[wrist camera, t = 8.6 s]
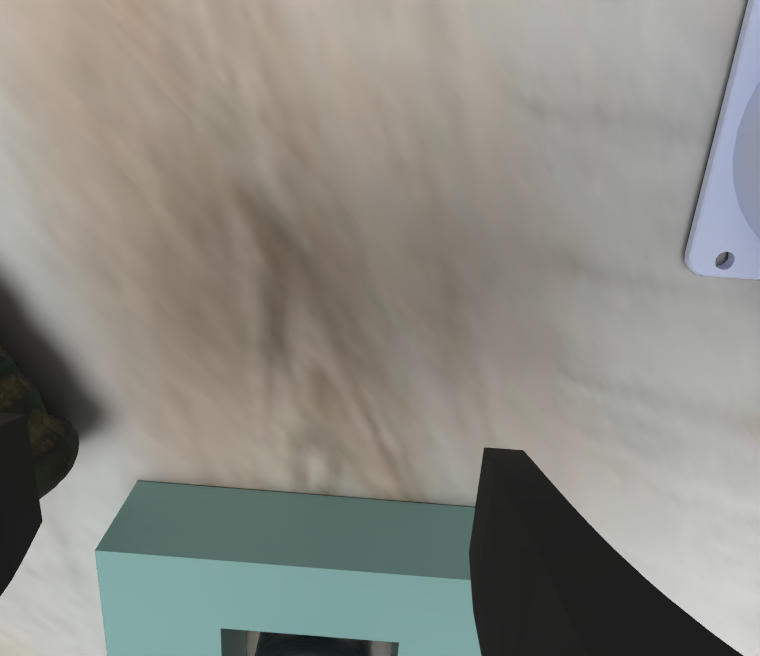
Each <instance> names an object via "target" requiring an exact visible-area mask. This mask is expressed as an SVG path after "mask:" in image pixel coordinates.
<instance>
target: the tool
mask: <svg viewBox="0 0 760 656" xmlns="http://www.w3.org/2000/svg"><path fill="white" fill-rule="evenodd" d="M0 413H11V414H25V415H26V416H27V423H28V429H29V436H30V442H31V449H32V456H33V462H34V469H35V476H36V482H37V489H38V496H39V499H40V498H42V497H43V496H44V495H46V494H47V493H48V492H50V491H51V490H52V489H53V488H55V487H56V486H57V484H58V483H59V482H60V481H61V480H62V479H64V478H65V477H66V475H67V474H68V473H69V471H70V470H71V469H72V467H73V465H74V462H75V460H76V457H77V455H78V447H79V438H78V434H77V432H76V430H75V429H74V428H73V426H72V425H71V424H70V423H69V422H68V421H66V420H64V419H61V418H57V417H54V416H52V415H50V414H48V413H47V412H46V409H45V406H44V404H43V401H42V399H41V396H40V393H39V391H38V390H37V389H36V387H35V386H34V385H33V384H32V382H31V381H29V380H28V379H27V378H26V377H24V376H23V375H22V374H21V372H20V371H19V369H18V368H17V366H16V365H15V363H14V362H13V360H12V358H11V357H10V355H9V354H8V352H7V351H6V349H5V348H4V347H3V346H2V345H1V344H0Z"/></svg>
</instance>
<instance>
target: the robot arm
mask: <svg viewBox="0 0 760 656" xmlns="http://www.w3.org/2000/svg"><path fill="white" fill-rule="evenodd" d="M722 252H728V259H727V261H726V262H725V263H723V264H722V265H718V266H716V265H715V260H716V258H717V256H718V255H719V254H721V253H722ZM684 261H685V264H686V266H687V267H688V268H689V269H690V270H691V271H692V272H694V273H695V274H697V275H701V276H712V277H725V278H738V279H751V280H760V0H748V4H747V8H746V12H745V16H744V20H743V24H742V28H741V32H740V36H739V40H738V44H737V48H736V52H735V56H734V60H733V64H732V68H731V72H730V76H729V80H728V84H727V88H726V92H725V96H724V100H723V104H722V108H721V112H720V116H719V120H718V124H717V128H716V132H715V136H714V140H713V144H712V148H711V152H710V156H709V160H708V164H707V168H706V172H705V176H704V180H703V184H702V188H701V192H700V196H699V200H698V204H697V207H696V211H695V215H694V219H693V223H692V227H691V231H690V235H689V239H688V243H687V247H686V251H685V259H684ZM41 523H42V515H41V509H40V502H39V496H38V489H37V482H36V476H35V469H34V462H33V456H32V449H31V442H30V436H29V429H28V423H27V416H26V415H25V414H11V413H0V596H1V595H2V593H3V592H4V590H5V589H6V587H7V586H8V584H9V583H10V581H11V580H12V578H13V577H14V575H15V573H16V571H17V569H18V568H19V566H20V564H21V562H22V560H23V558H24V557H25V555H26V553H27V551H28V549H29V547H30V545H31V543H32V541H33V539H34V537H35V535H36V533H37V531H38V529H39V527H40V525H41ZM469 562H470V578H471V591H472V604H473V614H474V619H475V625H476V630H477V635H478V640H479V646H480V651H481V656H743V655H741V654H740V653H739V652H737V651H736V650H734V649H733V648H732V647H730V646H729V645H727V644H726V643H725V642H723V641H722V640H721V639H719V638H718V637H717V636H715V635H714V634H713V633H711V632H710V631H709V630H707V629H706V628H705V627H704V626H702V625H701V624H700V623H699V622H697V621H696V620H695V619H694V618H692V617H691V616H690V615H689V614H687V613H686V612H685V611H684V610H682V609H681V608H680V607H679V606H677V605H676V604H675V603H674V602H672V601H671V600H670V599H669V598H667V597H666V596H665V595H664V594H663V593H662V592H660V591H659V590H658V589H657V588H656V587H655V586H653V585H652V584H651V583H650V582H649V581H648V580H647V579H646V578H644V577H643V576H642V575H641V574H640V573H639V572H638V571H637V570H636V569H635V568H634V567H633V566H632V565H631V564H629V563H628V562H627V561H626V560H625V559H624V558H623V557H622V556H621V555H620V554H619V553H618V552H617V551H616V550H614V549H613V548H612V547H611V546H610V545H609V544H608V543H607V542H606V541H605V540H604V539H603V538H602V537H601V536H600V535H599V534H598V533H597V531H596V530H595V529H594V528H593V527H592V526H591V525H590V524H589V523H588V522H587V521H586V520H585V519H584V518H583V517H582V516H581V515H580V514H579V513H578V512H577V510H576V509H575V508H574V507H573V506H572V505H571V504H570V503H569V502H568V501H567V499H566V498H565V497H564V496H563V495H562V494H561V493H560V492H559V491H558V489H557V488H556V487H555V486H554V485H553V484H552V483H551V481H550V480H549V479H548V478H547V477H546V476H545V475H544V473H543V472H542V471H541V470H540V469H539V468H538V466H537V465H536V464H535V463H534V462H533V461H532V460H531V458H530V457H529V456H528V455H527V454H526V453H525V452H524V451H523V450H512V449H498V448H484V453H483V460H482V466H481V473H480V480H479V486H478V493H477V500H476V507H475V513H474V520H473V527H472V534H471V540H470V547H469Z"/></svg>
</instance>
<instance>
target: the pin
mask: <svg viewBox="0 0 760 656" xmlns="http://www.w3.org/2000/svg"><path fill="white" fill-rule="evenodd" d="M255 656H372V640H361V639H348V638H335V637H323V636H310V635H298V634H285V633H273V632H260V635H259V640H258V644H257V649H256V653H255Z"/></svg>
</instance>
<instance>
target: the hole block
mask: <svg viewBox="0 0 760 656" xmlns="http://www.w3.org/2000/svg"><path fill="white" fill-rule="evenodd" d="M474 513H475V507H464V506H451V505H439V504H426V503H413V502H400V501H387V500H375V499H362V498H349V497H336V496H324V495H311V494H298V493H285V492H273V491H260V490H247V489H234V488H222V487H209V486H196V485H183V484H171V483H158V482H145V481H137V483H136V485H135V486H134V488H133V490H132V491H131V493H130V494H129V496H128V498H127V499H126V501H125V503H124V504H123V506H122V507H121V509H120V511H119V512H118V514H117V516H116V517H115V519H114V520H113V522H112V524H111V525H110V527H109V528H108V530H107V532H106V533H105V535H104V537H103V538H102V540H101V541H100V543H99V545H98V546H97V548H96V550H95V556H96V564H97V572H98V581H99V589H100V598H101V606H102V614H103V623H104V631H105V640H106V648H107V656H246V630H248V631H260V632H273V633H285V634H298V635H310V636H323V637H335V638H348V639H361V640H373V641H386V642H392V650H391V656H481V651H480V646H479V640H478V635H477V630H476V625H475V619H474V614H473V604H472V591H471V578H470V562H469V547H470V540H471V534H472V527H473V520H474Z"/></svg>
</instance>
